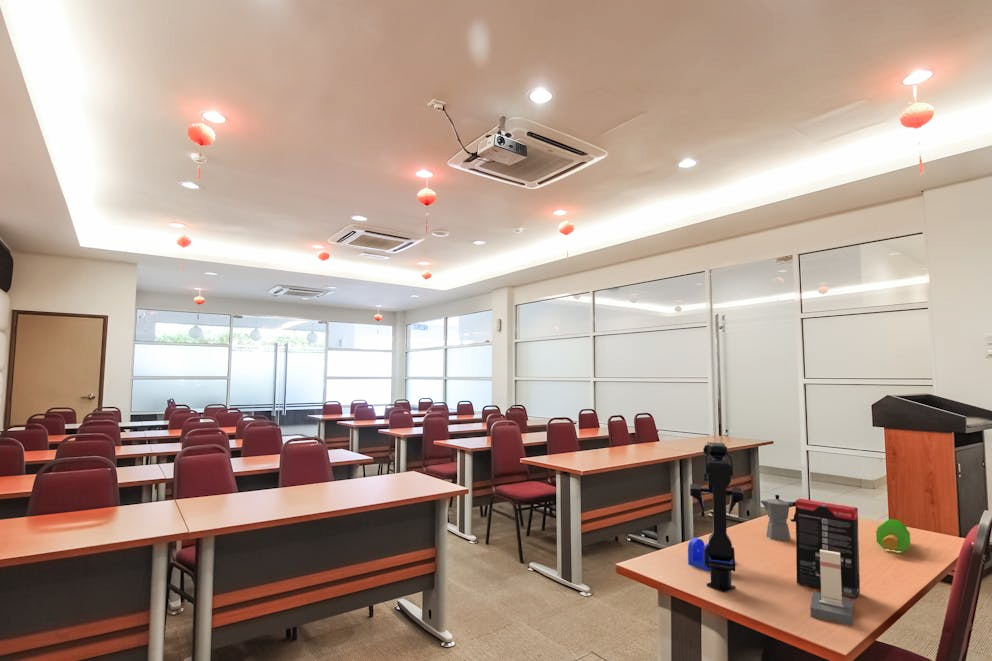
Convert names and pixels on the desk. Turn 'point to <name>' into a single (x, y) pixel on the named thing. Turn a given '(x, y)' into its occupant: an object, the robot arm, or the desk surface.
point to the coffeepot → (778, 518)
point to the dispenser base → (832, 610)
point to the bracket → (698, 554)
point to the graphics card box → (827, 542)
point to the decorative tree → (893, 535)
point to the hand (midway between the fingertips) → (716, 512)
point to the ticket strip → (830, 576)
